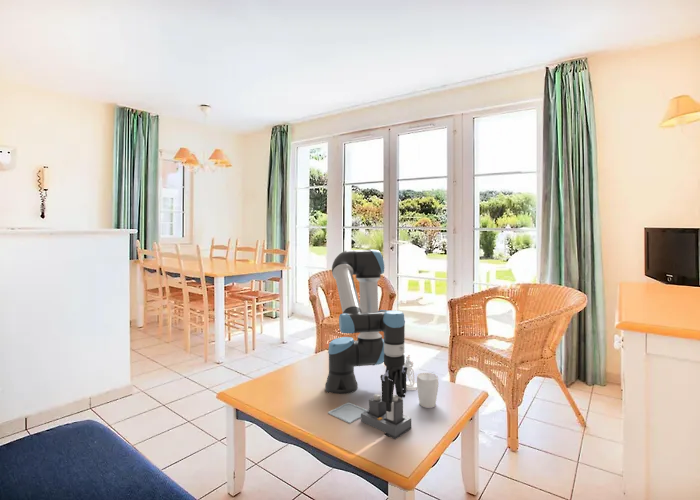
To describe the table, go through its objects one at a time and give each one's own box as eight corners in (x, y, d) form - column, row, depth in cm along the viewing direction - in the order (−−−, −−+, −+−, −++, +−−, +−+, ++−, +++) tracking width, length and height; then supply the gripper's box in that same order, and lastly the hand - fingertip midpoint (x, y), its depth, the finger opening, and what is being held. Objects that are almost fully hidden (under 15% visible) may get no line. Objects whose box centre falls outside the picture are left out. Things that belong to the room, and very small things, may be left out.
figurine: (400, 382, 182) (399, 352, 181) (418, 382, 181) (418, 352, 181) (402, 390, 173) (401, 358, 172) (421, 390, 172) (421, 358, 172)
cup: (438, 410, 153) (438, 381, 152) (416, 408, 155) (416, 379, 154) (438, 400, 162) (438, 373, 161) (416, 399, 163) (416, 371, 163)
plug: (385, 422, 138) (385, 396, 137) (393, 417, 141) (393, 392, 140) (395, 426, 134) (395, 400, 134) (403, 421, 138) (403, 396, 137)
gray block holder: (361, 423, 142) (360, 396, 142) (377, 414, 150) (377, 388, 149) (395, 439, 131) (395, 410, 131) (411, 428, 139) (411, 400, 138)
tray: (327, 415, 149) (327, 412, 149) (348, 405, 158) (348, 402, 158) (349, 426, 141) (349, 422, 141) (370, 414, 150) (370, 411, 149)
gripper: (387, 362, 128) (388, 429, 129) (416, 350, 140) (416, 411, 141) (370, 357, 133) (371, 422, 134) (399, 346, 146) (400, 405, 147)
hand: (394, 416), depth 138 cm, fingers closed on plug, 4 cm apart
